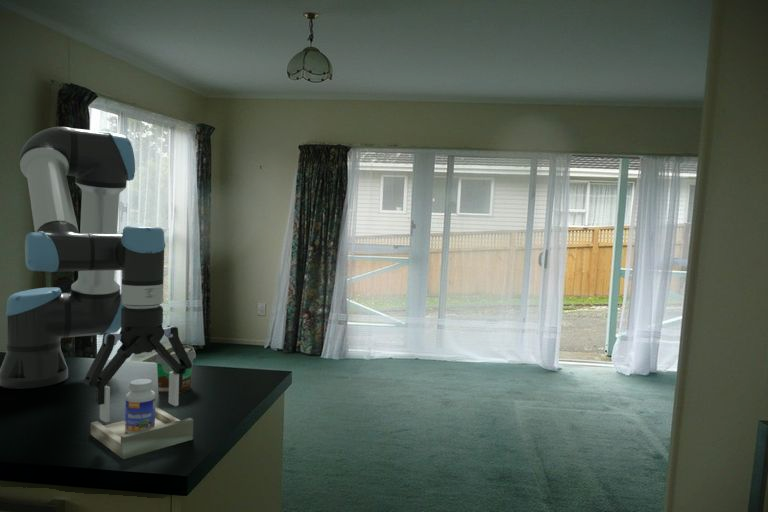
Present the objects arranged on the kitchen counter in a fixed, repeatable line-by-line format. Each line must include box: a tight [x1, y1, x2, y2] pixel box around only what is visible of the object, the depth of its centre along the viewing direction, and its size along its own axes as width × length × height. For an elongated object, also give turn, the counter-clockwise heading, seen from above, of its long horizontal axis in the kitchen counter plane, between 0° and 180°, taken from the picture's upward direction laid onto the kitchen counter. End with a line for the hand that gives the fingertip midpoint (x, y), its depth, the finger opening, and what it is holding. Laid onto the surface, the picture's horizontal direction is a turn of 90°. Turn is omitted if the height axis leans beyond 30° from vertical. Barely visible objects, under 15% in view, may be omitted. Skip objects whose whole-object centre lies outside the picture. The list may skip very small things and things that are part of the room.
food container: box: [155, 344, 197, 395], centre depth 137 cm, size 12×6×10 cm, turn 168°
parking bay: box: [90, 407, 194, 460], centre depth 108 cm, size 15×13×4 cm
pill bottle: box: [124, 378, 156, 433], centre depth 108 cm, size 5×5×10 cm
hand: (140, 411), depth 108 cm, fingers open, 13 cm apart
